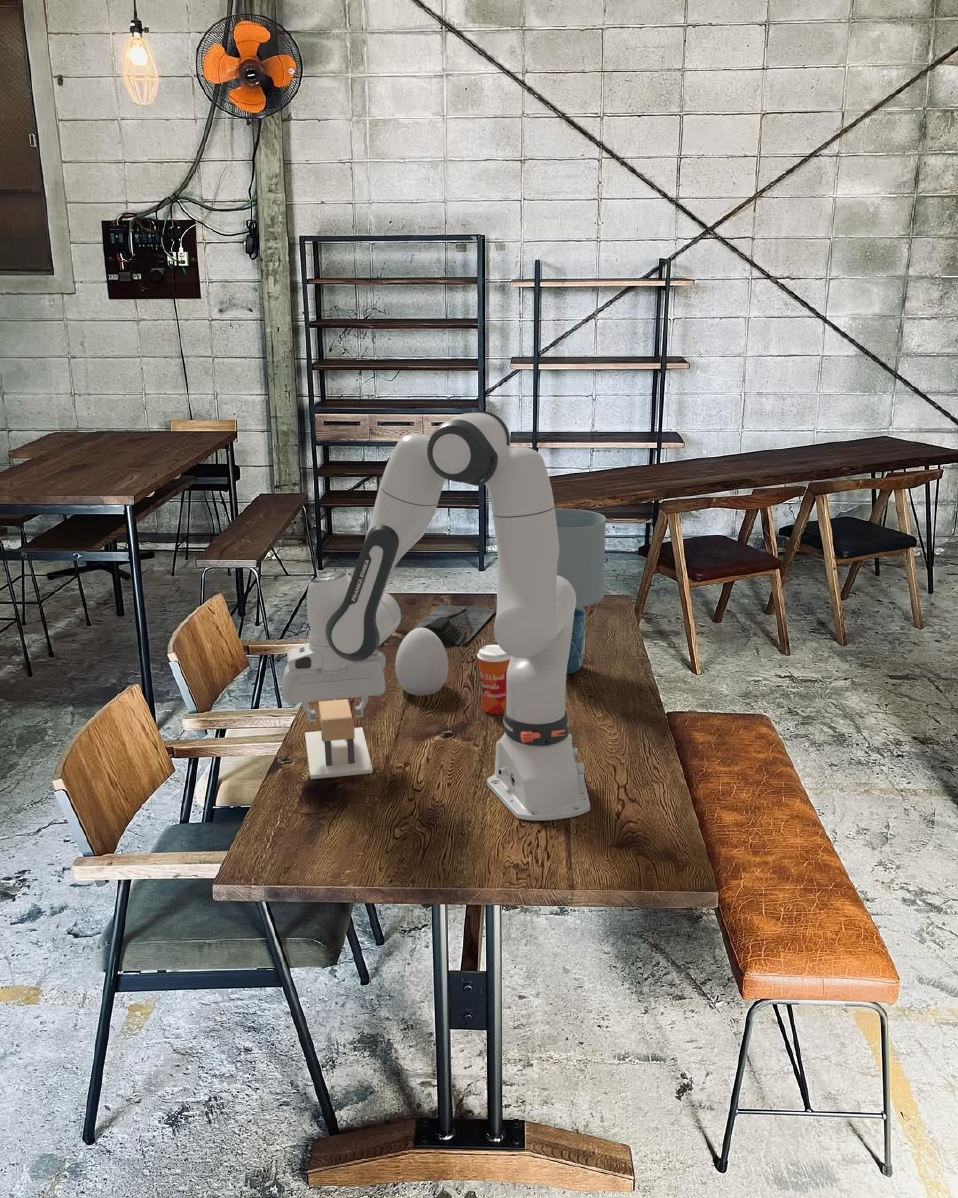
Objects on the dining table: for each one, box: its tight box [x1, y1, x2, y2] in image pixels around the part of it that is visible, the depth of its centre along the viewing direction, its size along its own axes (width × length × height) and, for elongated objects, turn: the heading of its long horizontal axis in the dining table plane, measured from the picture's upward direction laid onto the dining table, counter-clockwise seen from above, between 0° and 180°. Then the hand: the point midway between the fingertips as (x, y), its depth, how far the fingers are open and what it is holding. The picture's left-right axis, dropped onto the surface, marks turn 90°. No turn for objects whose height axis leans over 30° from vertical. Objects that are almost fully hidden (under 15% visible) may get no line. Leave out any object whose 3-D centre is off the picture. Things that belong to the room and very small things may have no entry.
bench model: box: [318, 698, 355, 766], centre depth 213 cm, size 14×6×8 cm, turn 12°
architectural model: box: [403, 604, 497, 647], centre depth 288 cm, size 17×6×30 cm
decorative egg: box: [394, 627, 449, 697], centre depth 244 cm, size 12×12×15 cm
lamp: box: [555, 508, 607, 676], centre depth 252 cm, size 19×19×38 cm
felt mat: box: [304, 726, 374, 780], centre depth 214 cm, size 20×12×1 cm, turn 12°
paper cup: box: [476, 644, 511, 715], centre depth 233 cm, size 8×8×14 cm
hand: (335, 717), depth 212 cm, fingers open, 8 cm apart
